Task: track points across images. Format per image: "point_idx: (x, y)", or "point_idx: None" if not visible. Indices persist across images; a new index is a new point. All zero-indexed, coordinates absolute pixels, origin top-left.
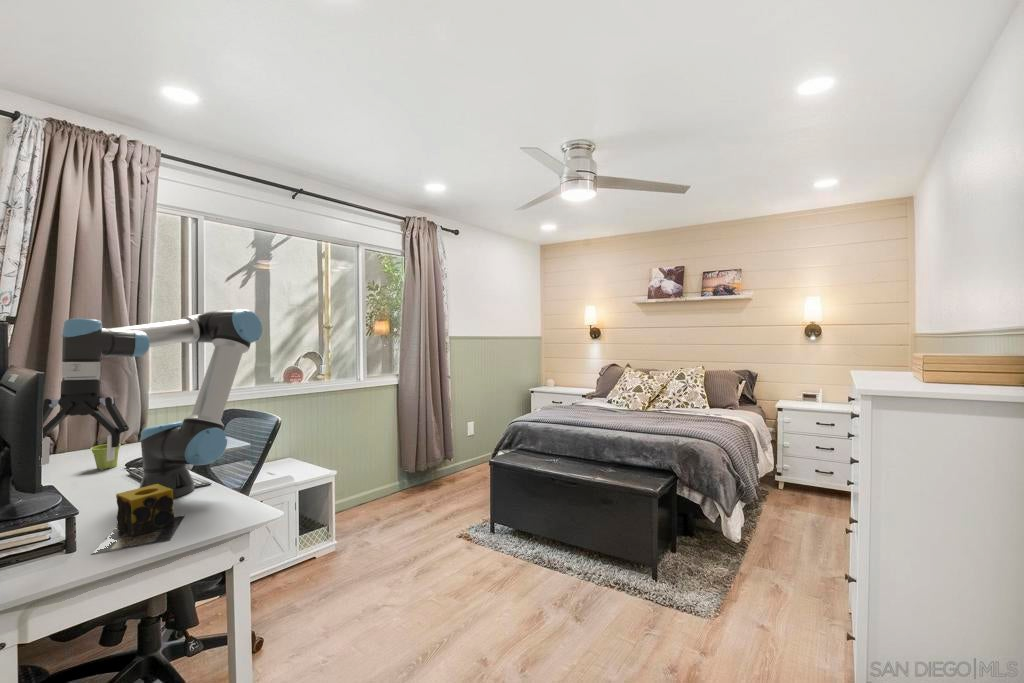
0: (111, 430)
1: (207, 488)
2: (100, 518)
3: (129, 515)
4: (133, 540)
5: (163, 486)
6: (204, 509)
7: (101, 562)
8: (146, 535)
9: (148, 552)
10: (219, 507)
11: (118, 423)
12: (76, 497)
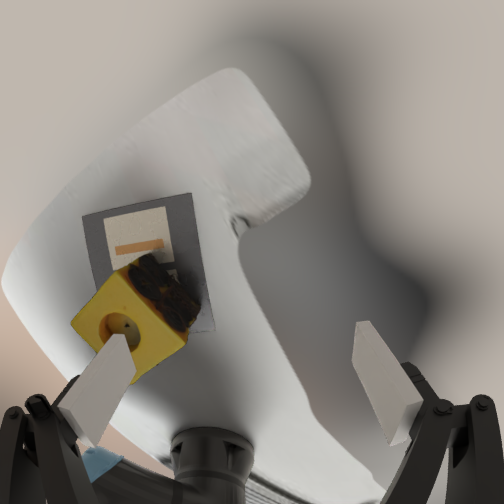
0: (45, 427)
1: (153, 448)
2: (273, 382)
3: (144, 276)
4: (141, 238)
5: None
6: None
7: (154, 151)
8: (129, 256)
9: (96, 173)
10: (77, 352)
11: (6, 442)
12: (353, 459)
